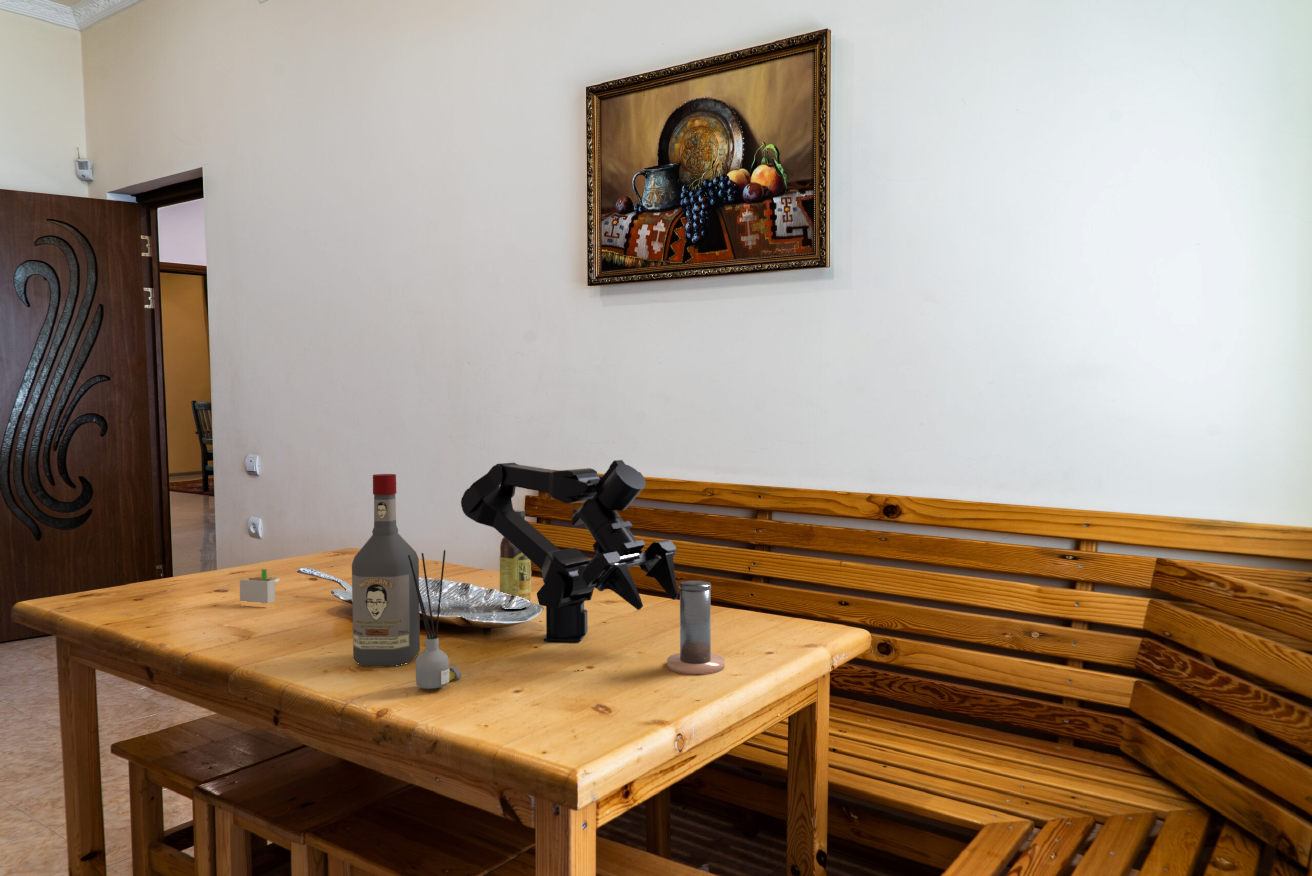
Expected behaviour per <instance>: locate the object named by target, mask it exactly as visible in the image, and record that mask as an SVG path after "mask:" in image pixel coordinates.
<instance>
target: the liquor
mask: <svg viewBox="0 0 1312 876" xmlns="http://www.w3.org/2000/svg"><path fill="white" fill-rule="evenodd" d="M396 494H397V474H395V473H380V474H376V473H375V474H372V495H373V529H372V535H371V536H370V538H368V539H367V541H366V542H365V543H364V545H363V546H362V548H360V549H359V551H358V552H357V553H356V554H355V556H354V558H353V560H352V563H351V589H352V591H351V593H352V597H351V599H352V600H351V601H352V603H351V604H352V605H351V606H352V649H353V650H352V655H353V656H352V657H353V660H354V661H355V663H356V662H357V663H359V664H361V665H363V666H396V665H400V666H402V665H401V664H405V663H408V664H410V663H411V662H410V661H411V660H412V659H413V658H414V657H415V656H416V655H417V656H418V654H419V652H420V650H421V643H420V642H421V637H420V636H421V635H420V634H421V631H420V630H421V629H420V627H421V625H420V623H421V622H420V603H419V599H418V595H417V590H416V586H415V582H414V577H413V573H412V569H411V565H410V561H409V558H408V555H410V558H411V560H412V564H413V569H414V572H415V576H416V579H417V583H418V587H419V588H420V563H419V557H418V554H417V551H415V549H414V548H413V547H412V546H411V545H410V544H409V543H408V542H407V541H406V540H405V539H404V538H403V537H402V536H401V534H400V533H399V528H398V526H397V510H396V509H397V505H396V504H397V503H396V499H397V497H396ZM417 656H416V657H417ZM416 657H415V658H416ZM415 658H414V659H415ZM414 659H413V660H414ZM413 660H412V661H413ZM357 663H356V664H357ZM359 664H358V665H359ZM361 665H360V666H361ZM405 665H406V664H405ZM363 666H362V667H363ZM396 667H397V666H396Z"/></svg>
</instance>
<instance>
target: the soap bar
mask: <svg viewBox="0 0 1312 876" xmlns="http://www.w3.org/2000/svg"><path fill="white" fill-rule="evenodd" d="M666 667H667V669H669V670H670V671H672V672H675V673H678V674H684V675H693V676H694V675H696V674H700V675H710V674H714V673H718V672H721V671H722V670H724V668H725V658H724V657H723V656H721V655H720V654H716V653H712V652H711V660H710V661H709V662H707V663H703V664H689V663H684V662H682V661H681V660H680V652H678V653H674V654H672V655H669V656H668V657H667V658H666Z"/></svg>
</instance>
